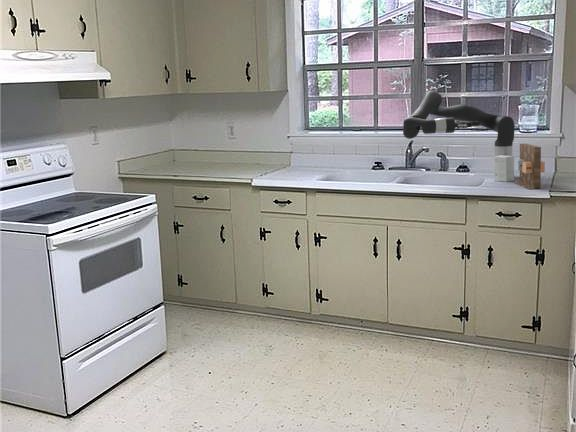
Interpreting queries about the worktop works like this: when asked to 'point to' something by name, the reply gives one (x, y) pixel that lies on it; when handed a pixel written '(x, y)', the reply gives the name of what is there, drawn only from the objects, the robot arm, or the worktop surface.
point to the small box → (503, 168)
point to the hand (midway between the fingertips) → (479, 123)
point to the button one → (519, 164)
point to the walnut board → (534, 156)
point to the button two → (531, 167)
